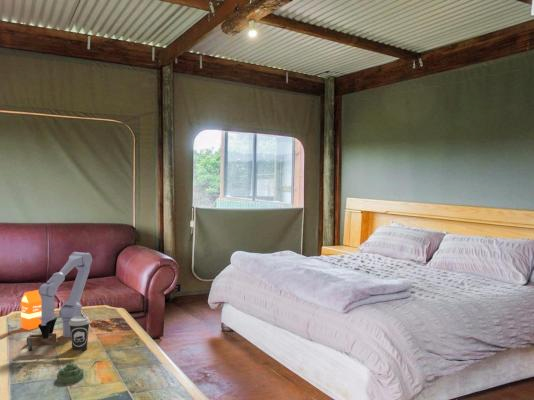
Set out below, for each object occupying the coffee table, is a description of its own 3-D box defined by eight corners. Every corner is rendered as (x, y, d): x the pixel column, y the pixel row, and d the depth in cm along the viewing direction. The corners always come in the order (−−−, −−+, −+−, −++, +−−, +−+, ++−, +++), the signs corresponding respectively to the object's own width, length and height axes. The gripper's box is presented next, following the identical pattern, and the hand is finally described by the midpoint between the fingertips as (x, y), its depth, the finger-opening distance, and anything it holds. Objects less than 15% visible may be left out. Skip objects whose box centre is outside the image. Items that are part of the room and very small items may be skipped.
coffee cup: (94, 347, 229) (94, 317, 228) (79, 354, 220) (78, 322, 219) (80, 344, 233) (79, 314, 232) (64, 351, 224) (64, 320, 224)
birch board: (58, 341, 237) (58, 339, 237) (46, 356, 217) (46, 354, 217) (31, 343, 235) (31, 341, 235) (16, 357, 215) (16, 355, 215)
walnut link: (56, 341, 235) (56, 333, 235) (53, 345, 229) (53, 337, 229) (30, 342, 233) (30, 334, 233) (26, 346, 228) (26, 338, 227)
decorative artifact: (57, 376, 196) (56, 385, 187) (57, 359, 196) (56, 368, 187) (82, 372, 200) (83, 381, 191) (82, 356, 200) (83, 364, 191)
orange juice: (44, 325, 263) (43, 290, 262) (28, 330, 256) (28, 293, 255) (36, 323, 267) (35, 288, 266) (20, 327, 260) (20, 291, 259)
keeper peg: (32, 349, 223) (32, 338, 223) (31, 351, 221) (31, 339, 221) (28, 350, 223) (28, 338, 222) (27, 351, 221) (27, 339, 221)
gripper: (43, 304, 237) (43, 331, 238) (34, 312, 223) (34, 341, 224) (58, 304, 239) (58, 331, 239) (50, 312, 224) (50, 340, 225)
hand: (48, 335), depth 231 cm, fingers open, 7 cm apart
